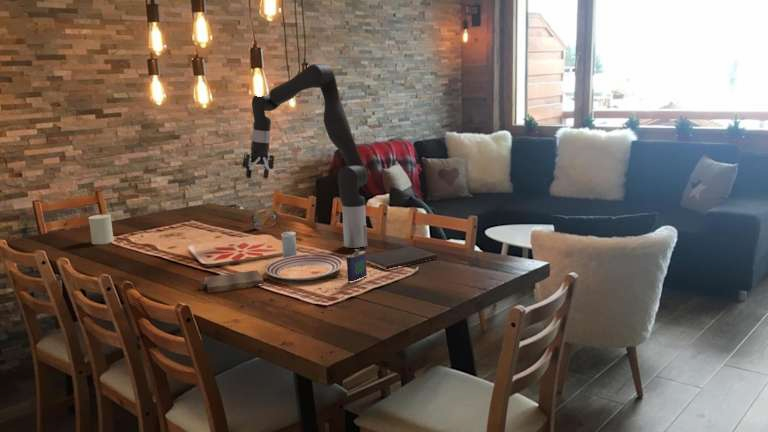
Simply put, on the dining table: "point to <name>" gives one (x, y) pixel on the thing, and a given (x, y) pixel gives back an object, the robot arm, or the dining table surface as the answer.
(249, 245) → the dining table surface
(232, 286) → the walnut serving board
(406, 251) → the hardcover book
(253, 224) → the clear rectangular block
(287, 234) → the stoneware cup
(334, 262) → the dinner plate
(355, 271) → the flask
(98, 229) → the can
